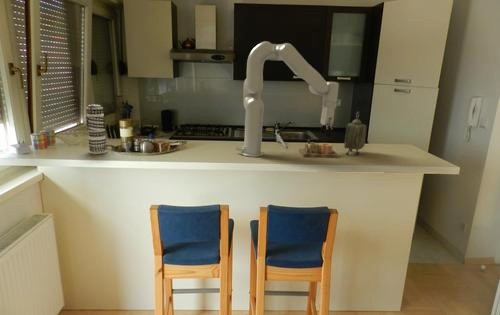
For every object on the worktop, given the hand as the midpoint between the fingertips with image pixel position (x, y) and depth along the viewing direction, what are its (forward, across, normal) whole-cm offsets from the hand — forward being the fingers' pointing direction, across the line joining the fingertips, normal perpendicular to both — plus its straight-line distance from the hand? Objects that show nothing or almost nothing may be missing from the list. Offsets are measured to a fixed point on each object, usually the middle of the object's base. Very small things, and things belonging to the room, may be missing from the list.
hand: (325, 135), depth 186 cm
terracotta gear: (+10, 0, +1) cm, 10 cm away
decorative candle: (+15, +7, -124) cm, 125 cm away
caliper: (+12, -24, -21) cm, 34 cm away
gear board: (+12, 0, -3) cm, 12 cm away
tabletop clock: (+11, -3, +19) cm, 22 cm away
